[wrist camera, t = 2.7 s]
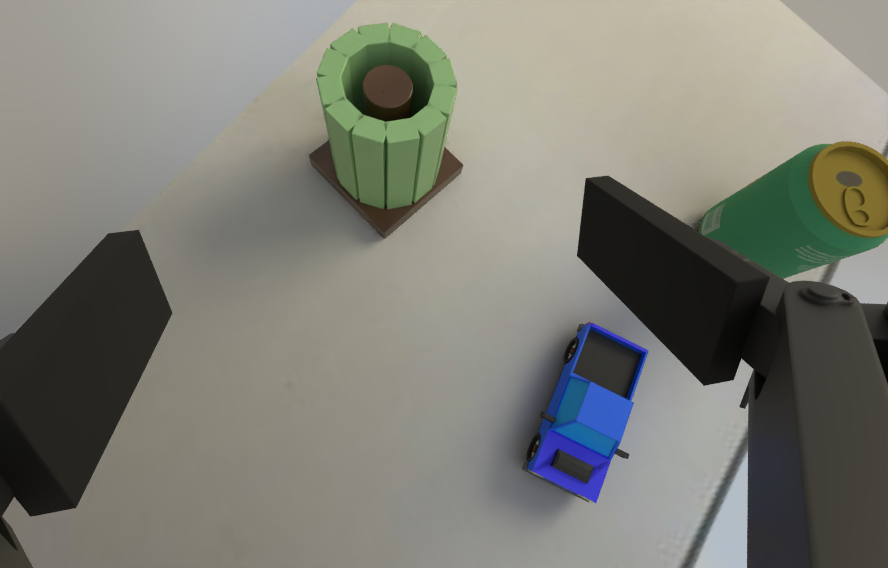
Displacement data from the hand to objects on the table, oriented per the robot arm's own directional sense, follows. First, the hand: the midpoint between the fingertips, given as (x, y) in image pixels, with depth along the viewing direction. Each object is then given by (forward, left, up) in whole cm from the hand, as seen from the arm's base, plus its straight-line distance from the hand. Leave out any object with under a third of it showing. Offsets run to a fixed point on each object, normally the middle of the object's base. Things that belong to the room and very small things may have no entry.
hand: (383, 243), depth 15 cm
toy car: (+14, +7, -24) cm, 29 cm away
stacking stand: (-11, +10, -24) cm, 28 cm away
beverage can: (+15, +28, -24) cm, 40 cm away
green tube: (-11, +10, -22) cm, 27 cm away
